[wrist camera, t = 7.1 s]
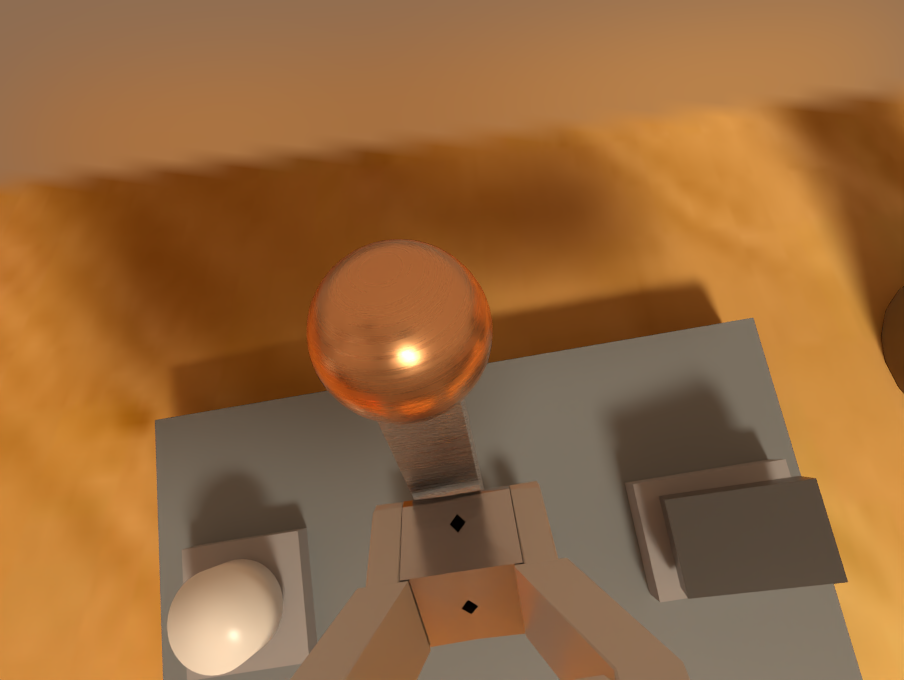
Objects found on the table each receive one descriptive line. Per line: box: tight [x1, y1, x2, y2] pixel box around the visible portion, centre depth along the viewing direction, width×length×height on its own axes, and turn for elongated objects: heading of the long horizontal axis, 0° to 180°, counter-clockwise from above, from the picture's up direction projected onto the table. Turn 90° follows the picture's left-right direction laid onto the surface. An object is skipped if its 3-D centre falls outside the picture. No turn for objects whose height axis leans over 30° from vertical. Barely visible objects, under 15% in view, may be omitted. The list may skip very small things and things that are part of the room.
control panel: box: [155, 318, 862, 680], centre depth 16 cm, size 20×12×4 cm, turn 99°
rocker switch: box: [659, 476, 848, 599], centre depth 14 cm, size 4×2×1 cm, turn 99°
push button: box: [167, 559, 283, 676], centre depth 15 cm, size 3×3×1 cm
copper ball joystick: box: [307, 239, 493, 500], centre depth 11 cm, size 2×2×13 cm
